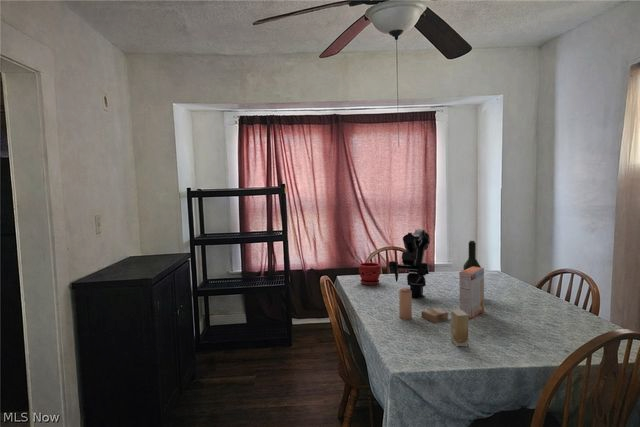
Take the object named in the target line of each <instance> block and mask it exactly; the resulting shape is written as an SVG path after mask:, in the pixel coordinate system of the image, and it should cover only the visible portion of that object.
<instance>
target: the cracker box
mask: <svg viewBox="0 0 640 427" xmlns="http://www.w3.org/2000/svg"><path fill="white" fill-rule="evenodd" d="M459 310H462V311H464V312H465V313H466V314H468V315H469V319H471V320H473V319H475V317H477V316H479V315H480V314H482V313H483V312H484V311H485V268H484V267H481V268H480V267H470V268H468V269H466V270H464V269H463V270H461V271H459Z"/></svg>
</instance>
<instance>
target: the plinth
mask: <svg viewBox="0 0 640 427" xmlns="http://www.w3.org/2000/svg"><path fill="white" fill-rule="evenodd" d="M448 314H449V312H446V311H444V310H441V309H438V308H435V307H433V308H429V309H426V310H422V311H421V318H422V319H424V320H427V321H430V322H432V323H439V322H442V321H446V320H449V318H448V317H449V316H448Z"/></svg>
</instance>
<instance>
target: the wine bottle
mask: <svg viewBox="0 0 640 427" xmlns="http://www.w3.org/2000/svg"><path fill="white" fill-rule="evenodd" d="M476 246H477V242H475V240H469V242H468V258H467V260H466V261H465V262H464V264H463V270H466V269H468V268H470V267H480V268H482V266H481V265H480V263H479V261H478V260H477V259H476V257H477V256H476V255H477V251H476V249H477V248H476Z"/></svg>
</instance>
